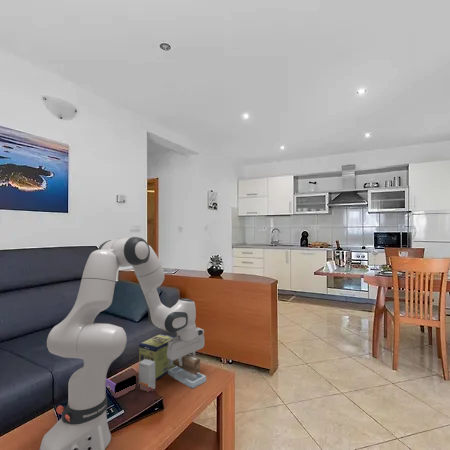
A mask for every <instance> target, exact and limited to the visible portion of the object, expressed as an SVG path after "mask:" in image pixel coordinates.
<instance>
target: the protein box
mask: <svg viewBox="0 0 450 450" xmlns="http://www.w3.org/2000/svg"><path fill="white" fill-rule="evenodd" d="M175 337H176V336H172V335H167V334H163V333H159V334H158V335H155V336H152V337H151V338H149V339H147V340H145V341H142V342H140V343H139V345H138V346H139V354H138V355H139V358H138V359H139V360H138V361H139V362H141V361H142V360H144V359H147V360H151V361H154V362H155V382H156V381H158V380H159V379H160V378H163V377H165V375H168V370H169V369H171V368H174V367H176V365H174V364H173V361H172V360H170V359H168V358H167V349H168V342H169V341H170V340H171V339H172V338H175ZM139 362H138V363H139Z"/></svg>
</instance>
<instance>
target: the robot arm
mask: <svg viewBox="0 0 450 450" xmlns="http://www.w3.org/2000/svg"><path fill="white" fill-rule="evenodd" d="M124 267H125V268H127V267H132V269H133V271H134V275H135V277H136V279H137V281H138V283H139V285H140V290H141V293H142V295H143V299H144V301H145V305H146V308H147V313H148V314H147V315H148V316H147V317H148V323H150V325H151V326H152V327H156V328H159V329H160V330H163V331H166V332H168V333H171V334H172V333H176V336H174V337H175V338H172V339H171V340H170V341H169V342H168V349H167V358H168V359H170V360H172V361H173V360H175V359H178V361H179V365H180V366H183V365H184V361H182V360H181V359H182V357H183V356H185V355H187V354H189V355H191V356H193V357H195V355H196V351H199V350H201V349H204V346H205V335H204V334H205V329H202V328H200V327H197V325H196V317H197V311H196V310H197V308H196V303H195V301H194V300H193V299H191V298H179V299H178V300H177V302H176V303H175V304H174V305H173V306H171V307H168V306H166V305H164V304H163V303H162V301H161V299H160V295H159V293H158V290H157V288H159V287H160V286H162V284H163V282H164V281H165V271H164V268H163V266H162V264H161V261H160V259H159V257H158V255H157V253H156V252H155V250H154V249H153V248H152V246H151V245H149V244H148V242H147V241H146V240H145V239H144V238H142V237H138V236H132V237H119V238H115V239H110V240H109V239H108V240H106V241H104V242H103V243H101V244H100V245H99V246H98V248H97V249H96V250H93V251H92V252H91V253H90V254H89V256H88V258H87V260H86V263H85V265H84V269H83V272H82V276H81V280H80V285H79V290H78V293H77V297H76V300H75V303H74V304H73V307H72V309H71V310H70V311H69V313H68V314H67V316H66V317H65V318H63V320H61V322H59V323H58V324H56V325H54V326H53V328H51V330H50V331H49V333H48V334H47V335H48V336H47V338H46V347H47V349H48V352H49V353H50V354H52V355H55V356H57V357H61V358H64V359H65V358H67V359H80V360H83V366H82V367H79V369H77V370H76V371H74V373H72V374H71V376H70V378H69V380H68V382H67V383H68V385H67V387H68V388H67V390H68V395H67V396H68V400H67V404H66V406H65V407H64V406H63V405H60V404H59V405H58V406H57V407H56V408H55V411H56V413H57V414H58V415H61V418H60V419H59V420H58V421H57V422H55V424H54V425H53V426H52V427H51V428H50V429H49V430H48V431H47V432H46V433H45V434H44V435H43V437H42V440H41V442H40V447H39V450H106V448H107V446H108V445H109V444H110V443H111V441H112V440H111V439H112V434H111V431H110V429H109V424H108V418H107V417H108V416H107V410H108V396H107V395H108V394H107V393H106V378H107V375H108V374H107V373H108V370H109V368H110V367H111V364H112V363H113V362H114V361H115V360H117V358H119V357H120V356H121V355H122V354H123V352H124V351H125V349H126V346H127V340H128V338H127V333H126V331H125V329H124V328H123V327H121V326H118V325H115V324H112V323H102V322H101V323H100V322H99V323H98V322H95V319H96V317H97V316H98V315H99V314H100V313H101V312H104V311H105V310H107V309H108V308H109V307H110V306H112V303H113V299H114V292H115V287H116V280H117V275H118V274H117V272H118V269H119V268H124ZM94 322H95V323H94Z"/></svg>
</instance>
